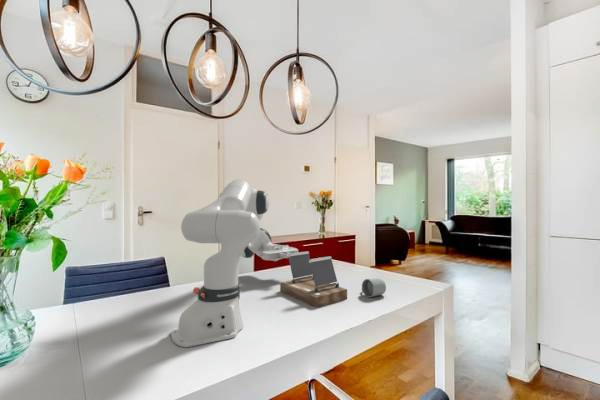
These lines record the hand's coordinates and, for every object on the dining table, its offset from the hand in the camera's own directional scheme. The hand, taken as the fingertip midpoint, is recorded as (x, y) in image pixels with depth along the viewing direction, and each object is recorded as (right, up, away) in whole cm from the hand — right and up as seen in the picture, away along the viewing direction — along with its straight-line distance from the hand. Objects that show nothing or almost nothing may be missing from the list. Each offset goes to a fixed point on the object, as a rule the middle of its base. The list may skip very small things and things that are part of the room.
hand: (288, 256), depth 150 cm
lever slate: (+17, -8, -23) cm, 30 cm away
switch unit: (+11, -14, -17) cm, 25 cm away
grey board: (+7, -8, -10) cm, 15 cm away
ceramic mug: (+37, -14, -17) cm, 43 cm away
